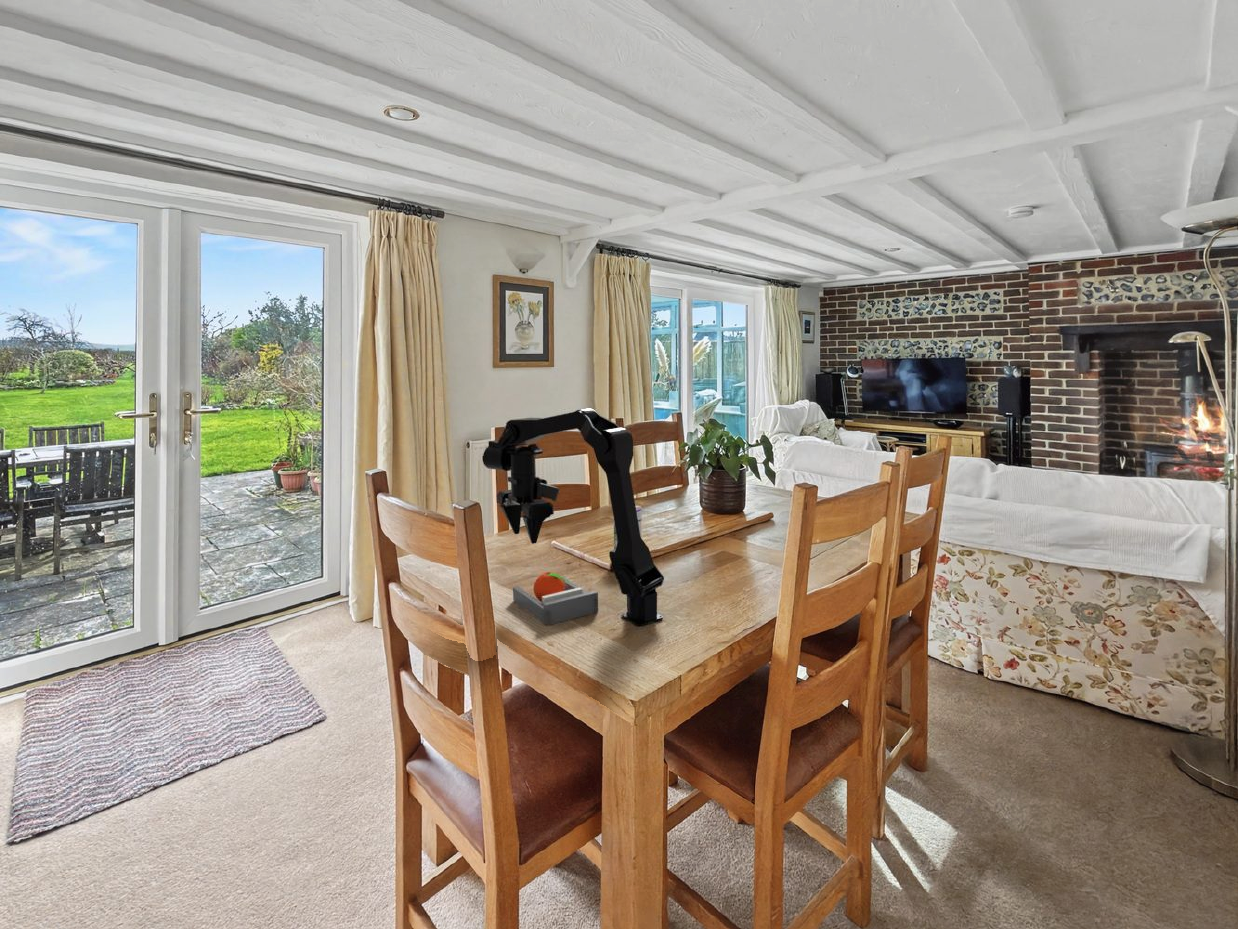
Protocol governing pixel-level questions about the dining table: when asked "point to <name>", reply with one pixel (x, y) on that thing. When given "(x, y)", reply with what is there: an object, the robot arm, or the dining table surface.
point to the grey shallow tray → (558, 605)
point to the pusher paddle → (561, 595)
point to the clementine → (548, 585)
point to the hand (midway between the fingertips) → (525, 538)
